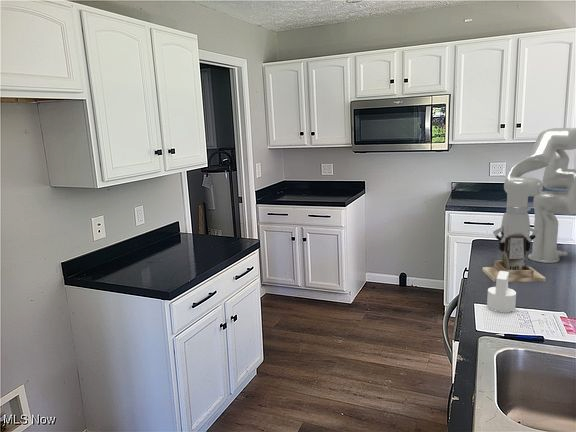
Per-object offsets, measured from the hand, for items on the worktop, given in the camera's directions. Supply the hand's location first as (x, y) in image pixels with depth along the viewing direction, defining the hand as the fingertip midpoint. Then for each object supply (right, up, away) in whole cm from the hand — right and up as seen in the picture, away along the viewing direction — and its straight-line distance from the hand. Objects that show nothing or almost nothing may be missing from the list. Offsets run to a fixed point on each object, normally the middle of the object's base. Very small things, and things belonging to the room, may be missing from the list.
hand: (514, 250), depth 183 cm
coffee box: (+1, -9, +2) cm, 10 cm away
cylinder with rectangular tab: (-19, -18, -27) cm, 38 cm away
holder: (0, -11, +2) cm, 11 cm away
